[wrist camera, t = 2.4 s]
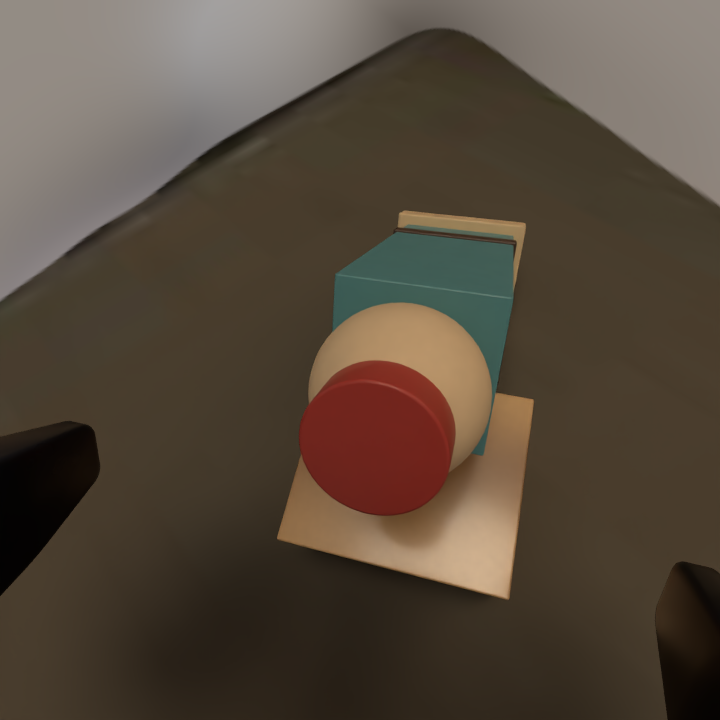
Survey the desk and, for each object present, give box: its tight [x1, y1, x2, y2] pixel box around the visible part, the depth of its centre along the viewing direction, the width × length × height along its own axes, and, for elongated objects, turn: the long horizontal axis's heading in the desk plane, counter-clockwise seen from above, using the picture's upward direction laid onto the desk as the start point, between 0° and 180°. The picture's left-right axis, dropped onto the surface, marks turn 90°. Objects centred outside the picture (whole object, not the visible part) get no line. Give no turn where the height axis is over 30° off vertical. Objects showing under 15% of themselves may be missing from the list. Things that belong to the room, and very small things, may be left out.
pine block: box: [277, 393, 534, 600], centre depth 18 cm, size 6×7×5 cm
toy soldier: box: [299, 211, 526, 516], centre depth 16 cm, size 13×5×13 cm, turn 166°
